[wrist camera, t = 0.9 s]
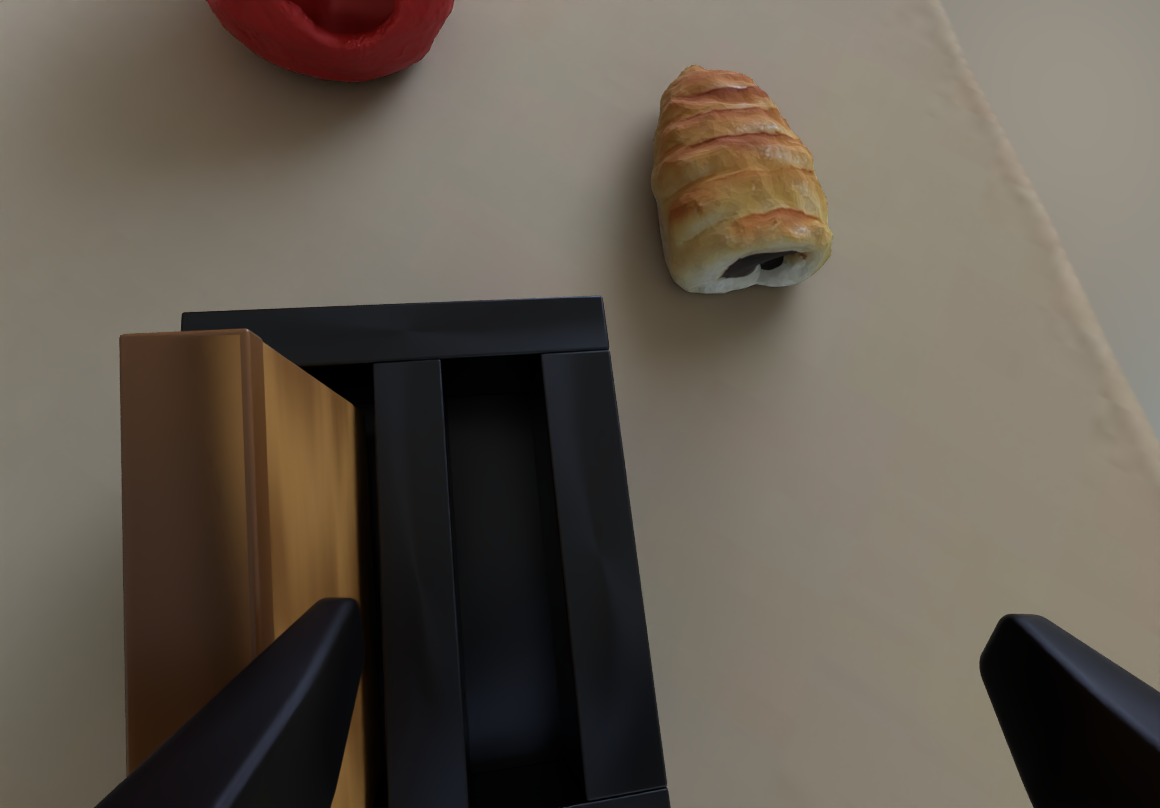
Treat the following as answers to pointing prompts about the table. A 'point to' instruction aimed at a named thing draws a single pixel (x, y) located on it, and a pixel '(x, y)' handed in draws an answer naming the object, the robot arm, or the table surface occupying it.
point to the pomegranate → (336, 33)
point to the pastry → (734, 188)
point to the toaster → (493, 547)
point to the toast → (237, 529)
